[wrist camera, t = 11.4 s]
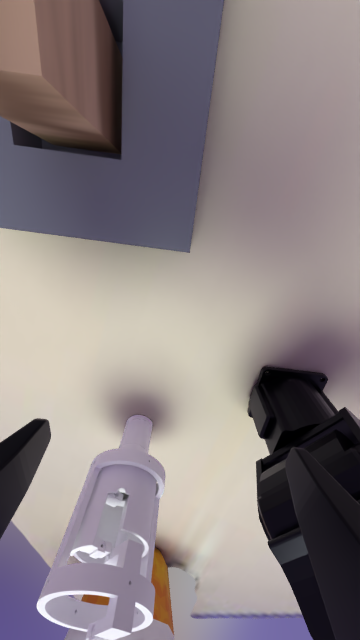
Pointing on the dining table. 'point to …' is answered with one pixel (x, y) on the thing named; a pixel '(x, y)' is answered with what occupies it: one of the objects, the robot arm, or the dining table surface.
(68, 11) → the oak peg
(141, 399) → the dining table surface
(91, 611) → the windowed cylinder housing
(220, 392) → the dining table surface
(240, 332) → the dining table surface
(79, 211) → the socket block
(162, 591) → the bucket of meat
